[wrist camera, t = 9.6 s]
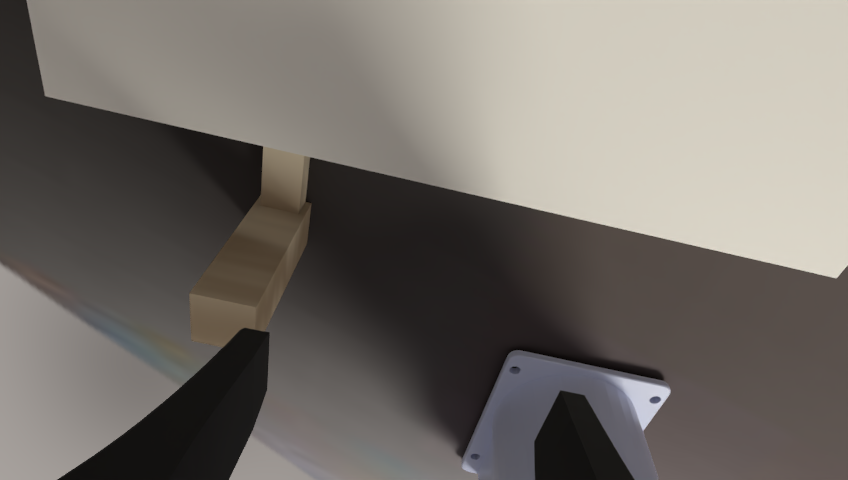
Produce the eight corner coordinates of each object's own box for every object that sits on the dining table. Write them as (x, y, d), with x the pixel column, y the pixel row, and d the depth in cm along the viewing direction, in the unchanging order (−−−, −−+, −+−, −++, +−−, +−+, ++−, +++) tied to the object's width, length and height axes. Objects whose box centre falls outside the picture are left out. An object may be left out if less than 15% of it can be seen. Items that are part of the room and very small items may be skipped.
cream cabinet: (747, 189, 19) (836, 278, 14) (154, 47, 18) (45, 96, 13) (902, -52, 15) (1100, -35, 10) (132, -262, 13) (-42, -350, 9)
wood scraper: (347, 251, 22) (307, 364, 17) (219, 223, 22) (136, 329, 16) (410, -126, 15) (375, -147, 9) (218, -177, 14) (65, -230, 9)
